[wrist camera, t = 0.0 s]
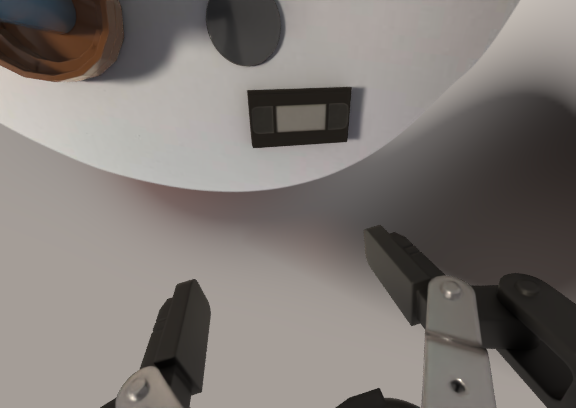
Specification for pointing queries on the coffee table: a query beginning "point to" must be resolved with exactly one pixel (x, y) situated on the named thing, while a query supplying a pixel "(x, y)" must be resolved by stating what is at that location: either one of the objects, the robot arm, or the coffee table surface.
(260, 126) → the vhs tape
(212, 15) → the coaster
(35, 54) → the bowl
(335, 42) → the coffee table surface
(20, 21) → the bottle
